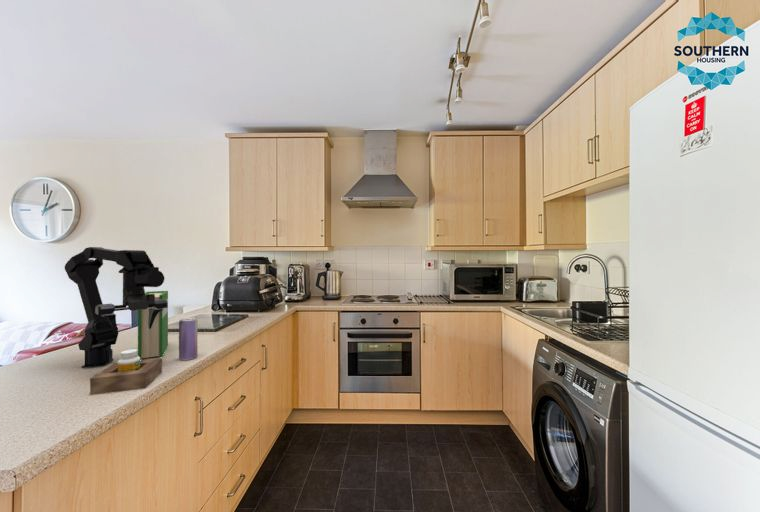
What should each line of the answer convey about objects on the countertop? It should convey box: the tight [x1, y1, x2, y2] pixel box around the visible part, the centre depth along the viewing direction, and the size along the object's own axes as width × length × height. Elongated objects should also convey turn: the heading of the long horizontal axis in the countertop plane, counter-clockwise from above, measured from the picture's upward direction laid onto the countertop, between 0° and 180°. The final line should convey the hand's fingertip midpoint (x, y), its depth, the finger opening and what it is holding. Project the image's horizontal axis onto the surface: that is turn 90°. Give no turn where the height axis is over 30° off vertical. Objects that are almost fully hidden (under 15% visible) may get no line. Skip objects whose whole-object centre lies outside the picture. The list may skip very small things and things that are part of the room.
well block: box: [89, 358, 163, 395], centre depth 92 cm, size 13×13×4 cm
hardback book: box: [137, 290, 169, 360], centre depth 121 cm, size 18×7×24 cm, turn 30°
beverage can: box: [178, 317, 199, 361], centre depth 114 cm, size 6×6×15 cm
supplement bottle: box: [117, 348, 140, 372], centre depth 92 cm, size 5×5×10 cm
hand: (133, 331), depth 104 cm, fingers open, 9 cm apart
